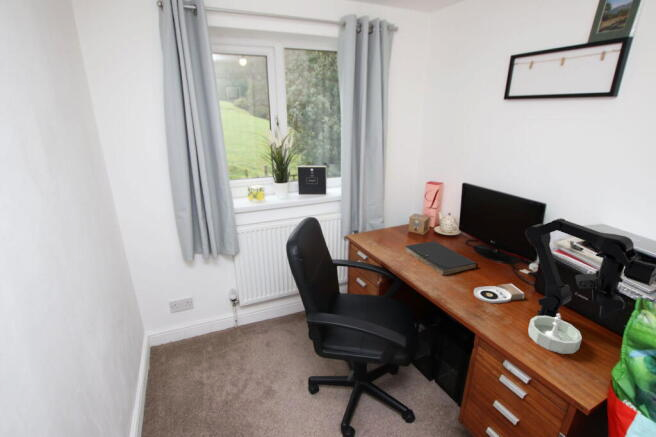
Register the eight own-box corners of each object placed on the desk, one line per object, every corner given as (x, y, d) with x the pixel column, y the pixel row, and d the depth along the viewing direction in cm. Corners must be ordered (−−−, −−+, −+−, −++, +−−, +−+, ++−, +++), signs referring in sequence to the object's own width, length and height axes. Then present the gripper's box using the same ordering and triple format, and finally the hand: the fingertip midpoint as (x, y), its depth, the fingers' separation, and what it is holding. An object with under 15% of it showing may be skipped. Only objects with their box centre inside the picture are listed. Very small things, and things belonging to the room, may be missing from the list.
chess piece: (554, 332, 116) (560, 309, 113) (564, 341, 112) (571, 317, 109) (541, 332, 116) (547, 309, 113) (551, 341, 112) (557, 318, 108)
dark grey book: (404, 245, 187) (436, 240, 196) (404, 251, 189) (435, 246, 197) (442, 269, 158) (478, 261, 167) (441, 276, 159) (477, 268, 168)
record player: (526, 295, 137) (484, 299, 135) (525, 301, 138) (483, 305, 136) (508, 281, 148) (469, 285, 146) (507, 287, 149) (468, 290, 147)
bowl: (527, 321, 124) (529, 311, 122) (573, 332, 117) (576, 322, 116) (530, 344, 111) (532, 334, 110) (582, 359, 105) (585, 348, 103)
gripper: (575, 256, 116) (565, 292, 121) (587, 279, 101) (575, 319, 106) (613, 262, 112) (601, 300, 117) (632, 287, 96) (617, 329, 101)
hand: (598, 311), depth 110 cm, fingers open, 9 cm apart
